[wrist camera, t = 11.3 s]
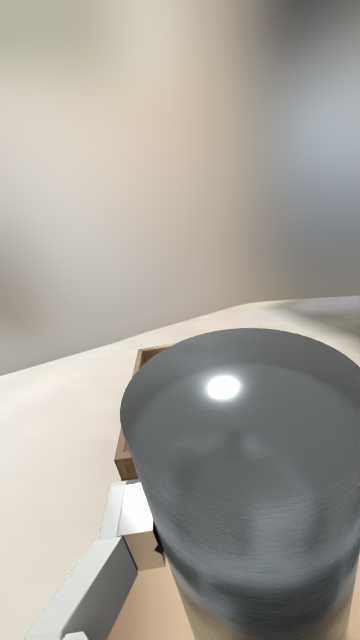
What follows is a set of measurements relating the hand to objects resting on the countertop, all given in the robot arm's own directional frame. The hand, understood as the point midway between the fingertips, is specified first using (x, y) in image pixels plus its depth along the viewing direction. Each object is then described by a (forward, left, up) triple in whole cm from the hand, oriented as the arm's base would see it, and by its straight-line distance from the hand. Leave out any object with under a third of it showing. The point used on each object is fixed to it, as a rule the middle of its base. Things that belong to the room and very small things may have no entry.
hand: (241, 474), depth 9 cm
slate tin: (0, -1, -6) cm, 7 cm away
